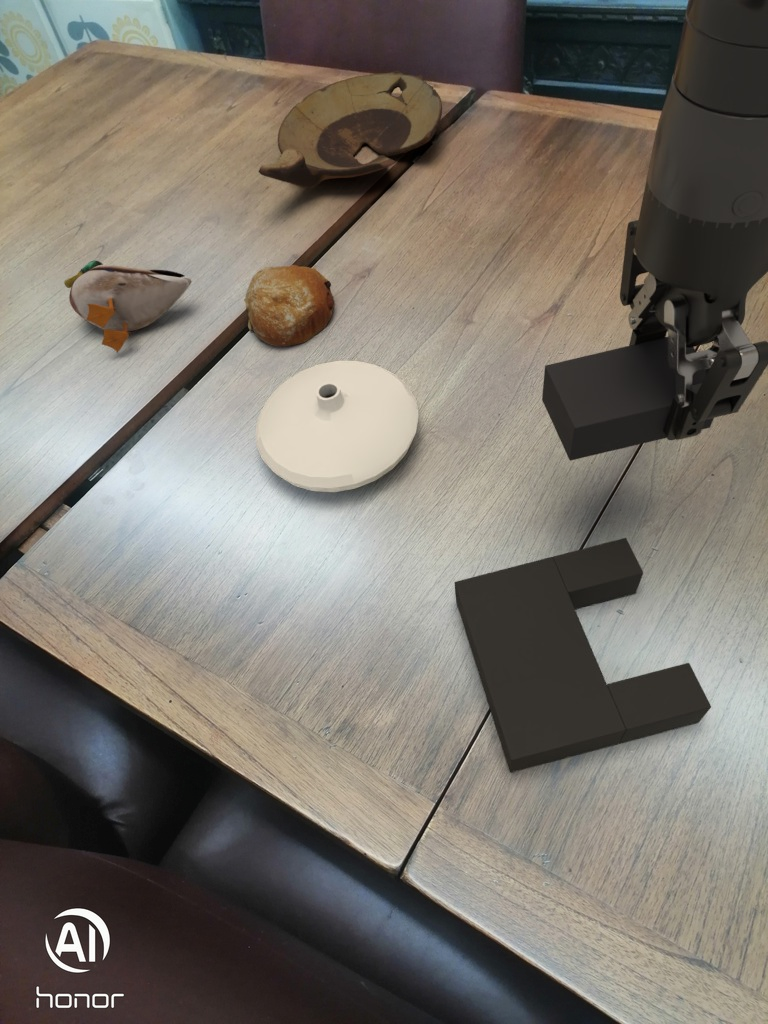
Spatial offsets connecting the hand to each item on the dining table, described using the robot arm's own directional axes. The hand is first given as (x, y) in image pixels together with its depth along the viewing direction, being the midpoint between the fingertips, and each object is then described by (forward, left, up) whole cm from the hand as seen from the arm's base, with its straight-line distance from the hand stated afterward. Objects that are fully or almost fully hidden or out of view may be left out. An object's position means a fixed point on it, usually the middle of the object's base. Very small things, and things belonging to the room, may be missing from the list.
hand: (659, 399), depth 49 cm
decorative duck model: (+43, -43, -14) cm, 62 cm away
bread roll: (+25, -35, -14) cm, 45 cm away
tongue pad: (+3, 0, -1) cm, 3 cm away
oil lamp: (+13, -65, -14) cm, 68 cm away
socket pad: (+10, +12, -14) cm, 20 cm away
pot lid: (+23, -15, -14) cm, 31 cm away
